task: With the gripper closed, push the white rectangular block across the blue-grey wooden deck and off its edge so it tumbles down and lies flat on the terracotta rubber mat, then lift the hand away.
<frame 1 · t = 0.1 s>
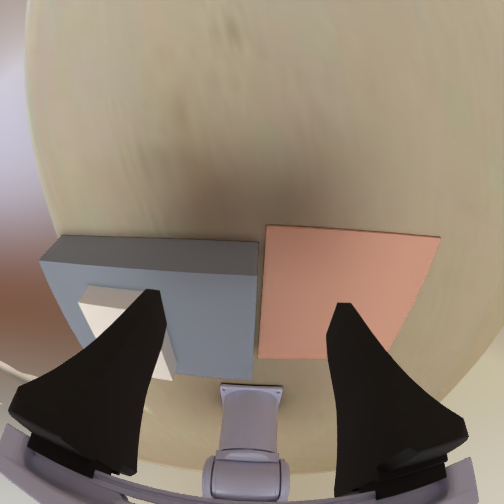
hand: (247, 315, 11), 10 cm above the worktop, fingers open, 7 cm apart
terracotta mat: (343, 307, 25), on the worktop
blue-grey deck: (158, 298, 25), on the worktop
white rectangular block: (135, 328, 22), point 4 cm above the worktop, touching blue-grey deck
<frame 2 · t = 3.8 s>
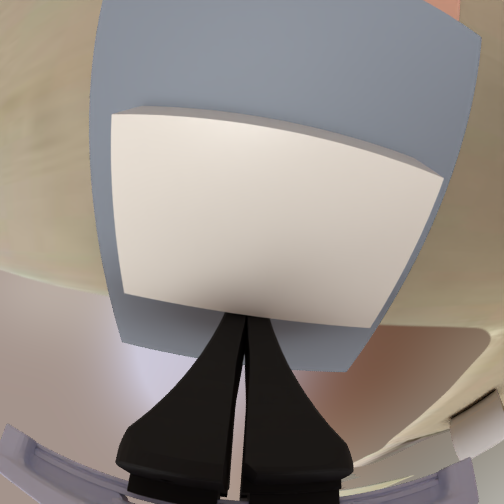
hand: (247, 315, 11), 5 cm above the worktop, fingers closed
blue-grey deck: (265, 175, 13), on the worktop
toilet paper: (474, 404, 32), on the worktop
white rectangular block: (267, 209, 9), point 4 cm above the worktop, touching gripper
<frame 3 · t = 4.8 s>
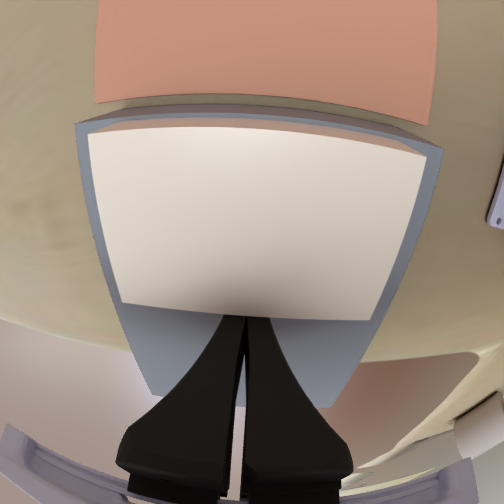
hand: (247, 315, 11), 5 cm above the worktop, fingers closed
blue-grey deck: (250, 272, 16), on the worktop
toilet paper: (477, 405, 33), on the worktop
white rectangular block: (252, 208, 9), point 4 cm above the worktop, touching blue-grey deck
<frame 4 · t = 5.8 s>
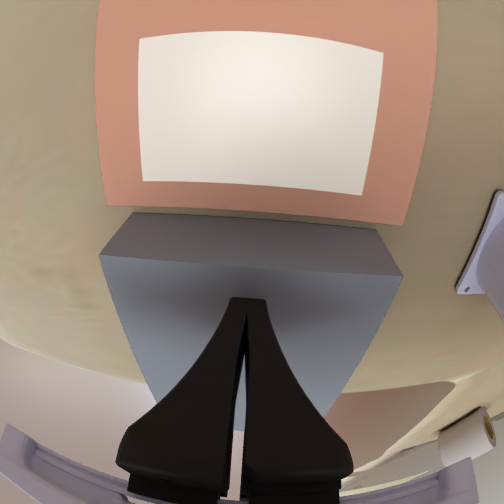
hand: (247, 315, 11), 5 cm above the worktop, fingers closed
terracotta mat: (265, 54, 10), on the worktop
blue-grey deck: (246, 335, 19), on the worktop
toilet paper: (462, 418, 36), on the worktop
white rectangular block: (256, 108, 9), point 2 cm above the worktop, tilted 180°, touching terracotta mat
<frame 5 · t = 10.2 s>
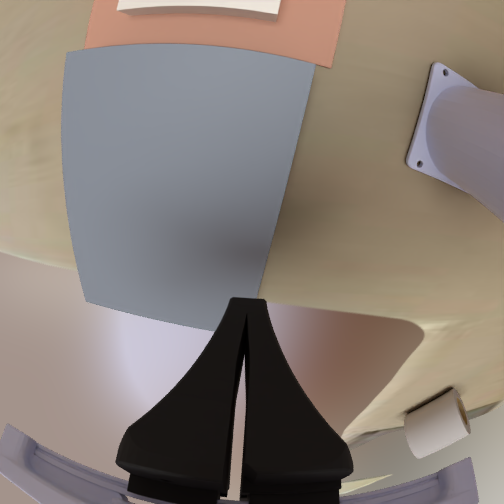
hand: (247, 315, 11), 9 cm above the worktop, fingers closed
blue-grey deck: (177, 185, 18), on the worktop
toilet paper: (431, 401, 38), on the worktop
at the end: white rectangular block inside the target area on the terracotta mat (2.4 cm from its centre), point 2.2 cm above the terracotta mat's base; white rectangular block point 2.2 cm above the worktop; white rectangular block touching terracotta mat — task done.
